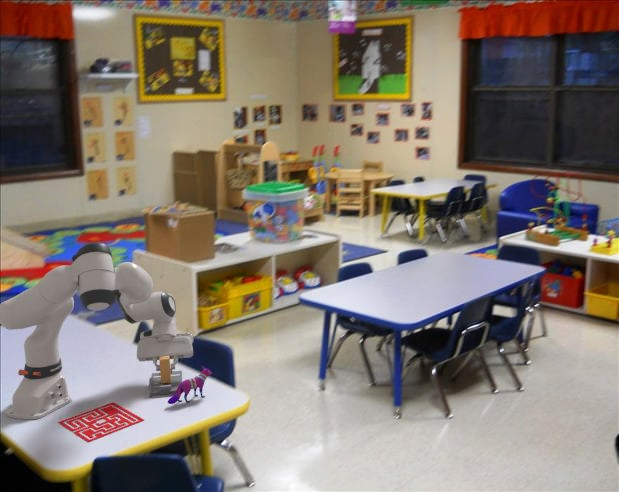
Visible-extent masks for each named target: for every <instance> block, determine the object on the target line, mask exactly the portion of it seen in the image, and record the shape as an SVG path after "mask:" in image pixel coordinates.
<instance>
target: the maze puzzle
mask: <svg viewBox="0 0 619 492" xmlns="http://www.w3.org/2000/svg"><path fill="white" fill-rule="evenodd" d="M102 411H103V412H102ZM126 413H127V414H126ZM98 414H99V415H98ZM108 417H109V418H108ZM84 418H85V419H84ZM126 418H127V419H126ZM100 420H105V421H103V422H99V421H100ZM80 421H81V422H80ZM116 422H117V423H116ZM141 422H145V419H144V418H142V417H140V416H139V415H137V414H136V413H133V412H132V411H130V410H128V409H127V408H125V407H122V406H121V405H119V404H117V403H116V402H113V401H112V402H110V403H107V404H104V405H101V406H98V407H95V408H92V409H90V410H87V411H85V412H81V413H79V414H77V415H74V416H73V415H72V416H71V417H67V418H66V419H65V418H64V419H62V420H60V421H58V424H60V425H61V426H63V427H64V428H66V429H68V430H69V431H70V432H73V433H74V434H75V435H76V436H78V437H79V438H80V439H82V440H83V441H85V442H86V443H91V442H93V441H96V440H99V439H101V438H103V437H106V436H109V435H110V434H111V435H112V434H113V433H116V432H119V431H121V430H124V429H126V428H129V427H132V426H133V425H137V424H140V423H141ZM66 423H67V424H66ZM75 423H76V424H77V425H76V424H75ZM126 423H127V424H126ZM94 424H95V425H96V426H95V425H94ZM72 427H73V428H72ZM104 428H105V429H104ZM102 432H103V433H102ZM81 433H82V434H81ZM84 435H85V436H84ZM93 435H94V436H95V437H94V436H93ZM86 436H87V437H86Z"/></svg>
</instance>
